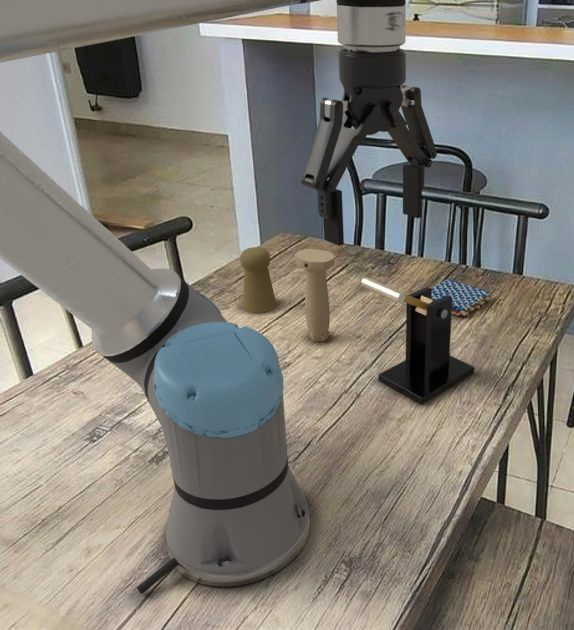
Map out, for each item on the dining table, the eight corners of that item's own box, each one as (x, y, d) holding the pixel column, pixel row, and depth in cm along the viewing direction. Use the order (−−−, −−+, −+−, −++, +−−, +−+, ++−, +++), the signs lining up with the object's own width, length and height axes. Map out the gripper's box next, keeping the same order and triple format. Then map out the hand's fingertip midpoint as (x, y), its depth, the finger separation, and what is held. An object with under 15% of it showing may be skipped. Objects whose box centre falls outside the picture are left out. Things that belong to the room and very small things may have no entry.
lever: (394, 305, 87) (402, 288, 87) (358, 288, 92) (365, 272, 92) (449, 325, 98) (455, 309, 98) (414, 309, 102) (420, 294, 102)
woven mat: (493, 299, 129) (494, 290, 128) (463, 320, 121) (464, 310, 120) (447, 285, 134) (448, 276, 133) (416, 304, 127) (416, 294, 126)
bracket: (421, 405, 98) (423, 320, 91) (378, 380, 103) (377, 299, 97) (474, 373, 106) (479, 293, 99) (431, 352, 111) (434, 275, 105)
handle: (327, 349, 111) (323, 264, 104) (294, 340, 114) (288, 256, 107) (343, 336, 115) (340, 254, 108) (311, 327, 118) (306, 246, 111)
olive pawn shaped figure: (283, 303, 125) (279, 248, 120) (260, 316, 121) (254, 258, 116) (259, 295, 128) (254, 241, 123) (235, 307, 124) (229, 251, 119)
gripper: (305, 60, 65) (317, 264, 75) (469, 42, 81) (461, 212, 91) (258, 52, 70) (275, 246, 79) (422, 37, 86) (420, 199, 96)
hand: (375, 228), depth 85 cm, fingers open, 13 cm apart
